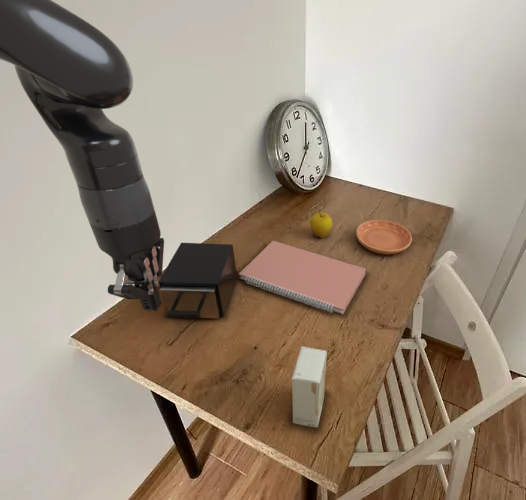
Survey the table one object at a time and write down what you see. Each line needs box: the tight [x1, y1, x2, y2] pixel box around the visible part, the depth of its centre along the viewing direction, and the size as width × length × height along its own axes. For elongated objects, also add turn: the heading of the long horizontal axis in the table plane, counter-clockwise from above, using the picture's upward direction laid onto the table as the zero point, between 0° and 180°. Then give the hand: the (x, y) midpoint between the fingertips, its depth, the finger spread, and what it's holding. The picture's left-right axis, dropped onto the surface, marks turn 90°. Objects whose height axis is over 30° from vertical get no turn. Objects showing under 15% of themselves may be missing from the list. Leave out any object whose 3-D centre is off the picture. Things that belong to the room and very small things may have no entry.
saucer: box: [355, 219, 413, 256], centre depth 102 cm, size 16×16×3 cm
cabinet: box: [158, 242, 238, 318], centre depth 78 cm, size 14×12×10 cm
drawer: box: [159, 285, 221, 319], centre depth 75 cm, size 17×10×8 cm, turn 1°
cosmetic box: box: [291, 346, 328, 428], centre depth 57 cm, size 6×4×12 cm
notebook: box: [238, 240, 367, 315], centre depth 87 cm, size 27×17×2 cm, turn 67°
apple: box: [309, 209, 333, 239], centre depth 101 cm, size 6×6×8 cm
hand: (153, 307), depth 55 cm, fingers closed
